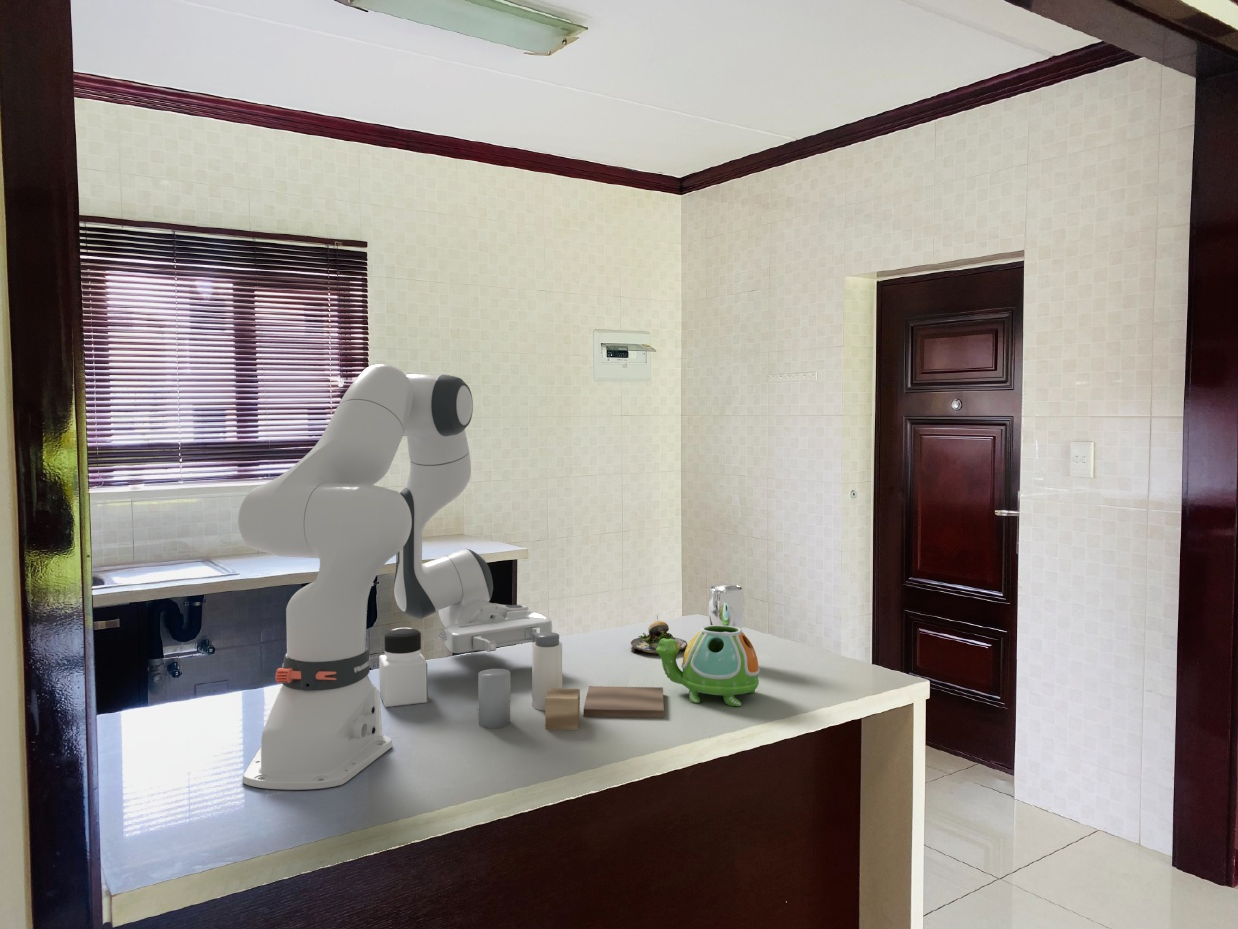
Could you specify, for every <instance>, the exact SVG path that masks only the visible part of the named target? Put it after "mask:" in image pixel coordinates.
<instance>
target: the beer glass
mask: <svg viewBox="0 0 1238 929" xmlns="http://www.w3.org/2000/svg"><path fill="white" fill-rule="evenodd" d="M744 593H745V592H744V587H743V586H741V585H736V584H729V583H726V584H725V583H724V584H721V583H720V584H713V585H710V587H709V594H708V596H709V597H708V621H709V625H724V626H733V627H738V628H741V629H743V624H744V619H745V595H744ZM722 633H729V632H722Z"/></svg>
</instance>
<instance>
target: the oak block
mask: <svg viewBox="0 0 1238 929" xmlns="http://www.w3.org/2000/svg"><path fill="white" fill-rule="evenodd" d="M544 713H545V714H544V715H545V716H544V717H545V718H544V720H545V722H544V723H545V726H544V727H545V728H544V729H545V730H566V731H568V730H573V731H575V730H576V731H577V730H578V728H579V723H580V720H581V716H580V715H581V688H563V687H562V688H549V690H548V692H547V695H546V698H545V712H544Z"/></svg>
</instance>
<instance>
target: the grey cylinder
mask: <svg viewBox="0 0 1238 929" xmlns="http://www.w3.org/2000/svg"><path fill="white" fill-rule="evenodd" d="M477 676H478V679H477V680H478V691H477V692H478V725H479V726H480V727H481V728H486V729H499V728H504V727H507V726H508V725H510V724H511V671H509V670H508V669H504V668H489V669H484V670H481V671H479V672H478V675H477Z"/></svg>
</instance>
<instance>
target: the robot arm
mask: <svg viewBox="0 0 1238 929" xmlns="http://www.w3.org/2000/svg"><path fill="white" fill-rule="evenodd" d="M473 412H474V402H473V395H472V391H471V389H470V387H469V386H468V384H467V383H466V382H465V381H464V379H462V378H461V377H457V376H455V375H449V374H440V375H438V374H437V375H436V374H428V373H426V374H425V373H411V372H404V371H402V370H401V369H400V368H397V367H395V366H393V365H391V364H390V365H389V364H380V363H379V364H373V365H370V366H368V367H366V368H365V369H364V370H361V373H360V374H359V375H358V376H357V377H355V379H354V380H353V382H352V383H351V385H350V386H349V387H348V389H346V391H345V393H344V394H343V396H342V398H340V401H339V404H338V405H337V407H336V409H335V411H334V413H333V415H332V417H331V419H330V421H329V423H328V425H327V426H326V428H325V430H324V432H323V433H322V435H321V437H320V438H319V440H318V441H317V443H316V444H315V445H314V446H313V447H312V449H311V450H310V451H309V452H307V453H306V454H305V456H303V457H302V458H301V459H300V460H299V461H298V462H297V463H296V464H294V465H293V466H291V467H290V468H289V469H288V470H287V471H285V472H284V473H282V474H280V475H279V476H278V477H276V478H274V479H272V480H269V481H268V482H266V483H263V484H262V485H259V486H256V487H254V488H252V489H251V490H249V492H248V493H247V494H246V495H245V497H244V499H242V502H241V504H240V506H239V510H238V515H237V516H238V518H237V523H238V530H239V534H240V535H241V537H242V539H243V540H244V541H243V542H245V543H246V545H247V546H248V547H249V548H251V549H253V550H255V551H258V552H259V551H260V552H263V553H267V554H269V555H274V556H276V557H282V558H284V557H286V558H304V559H307V558H309V559H319V568H318V573H317V577H316V579H315V580H314V581H312V582H310V583H308V584H306V585H305V586H302V587H301V588H299V589H298V590H297V591H296V592H295V593H294V594H293V595H292V596H291V598H290V599H289V601H288V603H287V606H286V608H285V611H286V613H285V615H286V616H285V617H286V618H285V619H286V622H285V623H286V653H285V654H284V658H283V663H282V666H281V667H279V668H277V669H276V672H275V676H274V678H275V681H276V683H278V684H282V685H281V687H280V688H279V692H278V694H277V696H276V699H275V700H274V703H273V706H272V707H271V710H270V713H269V715H268V717H267V720H266V722H265V725H264V728H263V730H262V733H261V741H260V742H261V743H260V744H261V745H260V747H259V748H258V750H257V751H256V753H255V755H254V756H253V758H252V759H251V761H250V763H249V765H248V766H247V767H246V769H245V770H244V772H243V774H242V781H241V782H242V784H243V785H244V784H245V785H247V786H250V787H255V788H261V789H270V790H288V791H289V790H293V791H294V790H296V791H297V790H317V789H318V790H319V789H327V788H333V787H338V786H341V785H344V784H345V783H347V782H349V781H350V780H351V779H352V778H353V777H355V776H357V775H358V774H359V773H360V772H361V771H363V770H364V769H366V768H367V767H368V766H369V765H370V764H371V763H373V762H375V761H376V760H377V759H379V758H380V757H381V756H382V755H383V754H385V753H386V752H387V751H389V750H390V749H391V748H392V747H393V740H392V738H391V737H389V736H387V735H384V734H383V724H382V710H381V709H382V708H381V696H380V689H378V688H377V687H376V686H375V685H374V683H372V681H371V679H370V678H369V674H370V670H371V669H370V668H371V667H370V664H371V657H370V650H369V648H368V647H367V616H368V615H367V614H368V612H367V611H368V601H369V596H370V592H371V589H372V586H373V583H374V581H375V579H376V577H377V576H378V574H379V572H380V570H381V569H382V568H383V566H384V565H385V564H386V563H387V562H389V561H390V559H392V558H393V557H395V561H396V562H395V563H396V564H395V565H396V566H395V573H394V581H393V592H394V593H393V595H394V598H395V602H396V605H397V607H398V609H399V610H400V612H401V613H403V614H404V615H406V616H408V617H411V618H413V619H418V620H423V619H425V618H427V617H429V616H431V615H433V614H435V613H436V612H438V615H439V619H440V621H441V623H442V625H443V626H444V627H445V629H444V630H442V631H440V632H438V633H437V634H436V636H437V639H439V640H440V641H445V643H444V644H445V647H446V649H447V650H449V651H450V652H451V653H453V654H464V653H465V654H466V653H470V652H478V651H482V652H483V651H484V652H487V653H491V652H495V651H497V648H500V647H501V648H503V647H508V646H509V647H510V646H514V645H515V646H516V645H522V644H526V643H532V644H533V643H534V642H535V635H536V634H538V633H543V632H552V633H553V623H552V620H551V618H549V617H547V616H545V615H543V614H542V613H539V612H537V611H533V610H529V606H527V605H524V604H500V603H497V602H495V603H494V602H493V603H492V602H490V601H491V599H492V598H493V597H492V596H493V591H494V582H493V575H492V573H491V569H490V567H489V565H488V563H487V562H486V560H485V559H484V558H483V557H482V556H481V555H479V554H478V553H476V552H475V551H474V550H471V549H468V548H464V549H461V550H457V551H455V552H454V551H453V552H452V553H448V554H446V555H444V556H442V557H438V558H435V559H432V560H429V561H427V562H424V563H423V532H424V529H425V527H426V525H427V523H428V522H429V521H430V520H431V518H432V517H433V516H434V515H435V514H437V513H438V512H439V511H440V510H441V509H443V508H444V507H446V506H447V505H449V504H450V503H452V502H453V501H454V500H456V499H457V498H458V497H459V496H460V495H461V494H462V493H463V492H464V490H465V489H466V488H467V486H468V484H469V482H470V480H471V477H472V476H471V475H472V474H471V473H472V462H471V455H470V448H469V443H468V438H467V433H466V430H465V429H466V428H467V427H468V426H469V425H470V423H471V421H472V417H473ZM404 437H406V438H407V448H408V456H409V464H410V470H409V475H408V479H407V482H406V484H405V486H404V488H403V489H402V490H401V492H399V491H397V490H394V489H390V488H387V487H383V486H378V485H375V484H376V483H378V482H379V481H381V480H382V479H383V478H384V477H385V476H386V474H387V473H388V472H389V471H390V467H391V465H392V462H393V460H394V458H395V456H396V454H397V451H398V448H399V447H400V444H401V442H402V439H403V438H404Z"/></svg>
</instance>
